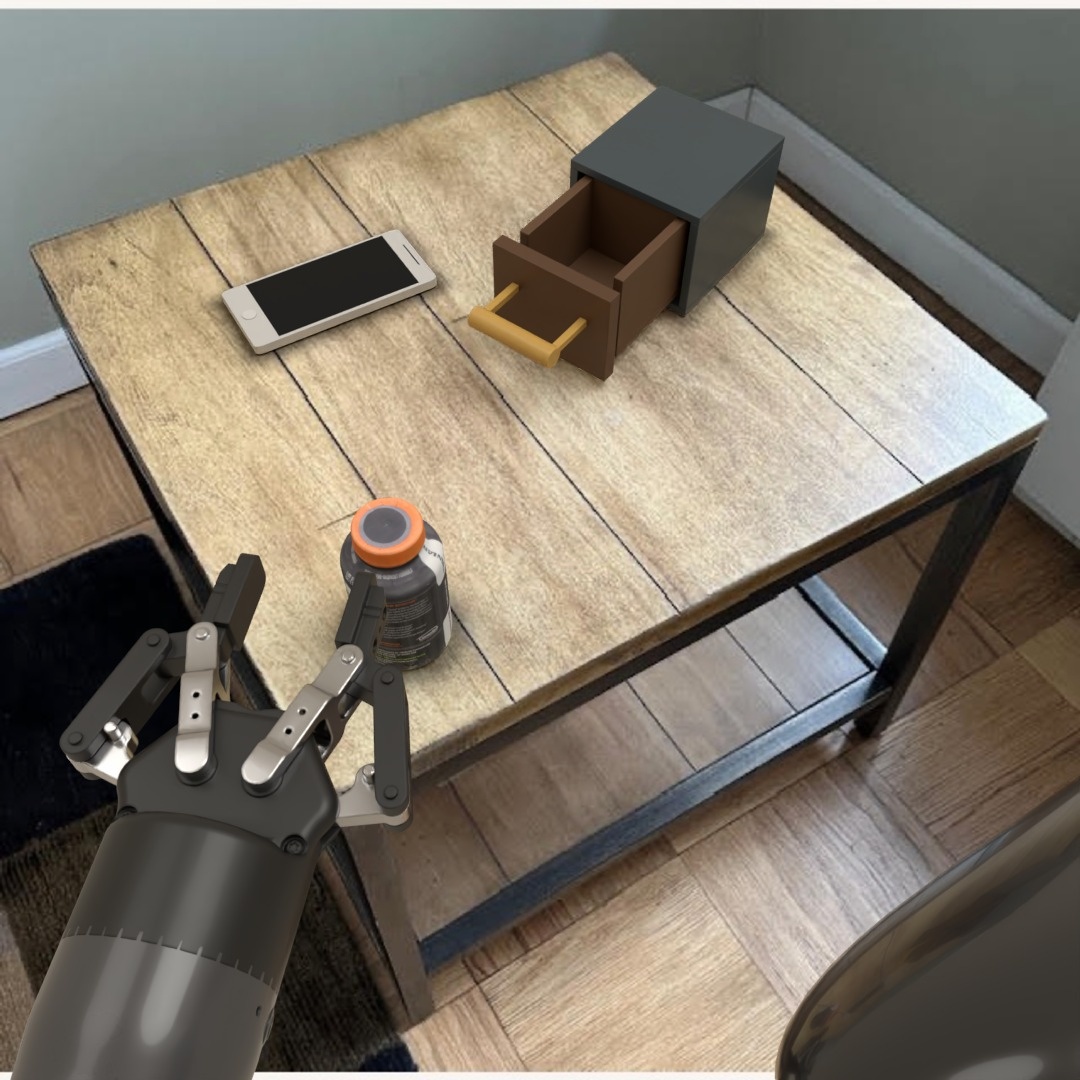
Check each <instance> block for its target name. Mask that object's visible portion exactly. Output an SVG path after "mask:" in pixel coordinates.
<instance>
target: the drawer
mask: <svg viewBox="0 0 1080 1080" xmlns="http://www.w3.org/2000/svg"><path fill="white" fill-rule="evenodd" d="M690 226H691V222H689V221H687V220H685V219H682V218H680V217H678V216H676V215H674V214H672V213H669V212H667V211H665V210H663V209H661V208H658V207H656V206H654V205H652V204H650V203H648V202H645V201H643V200H641V199H639V198H637V197H635V196H632V195H630V194H628V193H626V192H624V191H621V190H619V189H617V188H615V187H613V186H611V185H608V184H606V183H604V182H602V181H600V180H598V179H595V178H593V177H591V176H589V175H587V174H586V175H585V176H584V177H583V178H582V179H580V180H579V181H578V182H577V183H576V184H574V185H573V186H572V187H571V188H570V187H569V189H567V190H566V191H565V192H564V193H562V194H561V195H560V196H559V197H558V198H556V199H555V200H554V201H553V202H551V204H549V205H548V206H547V207H546V208H544V209H543V211H541V212H540V213H539V214H537V216H535V217H534V218H533V219H532V220H531V221H530V222H528V223H527V224H526V225H525V226H523V228H521V229H520V230H519V241H516V240H515V239H512V238H510V237H509V236H508V235H507V236H506V235H504V234H501V235H500V236H499V237H497V238H496V239H495V240H494V241H493V242H492V273H493V299H492V300H491V301H490V302H488V303H487V304H486V305H485V306H484V307H483V306H481V305H475V306H474V307H473V308H472V309H471V311H470V312H469V314H468V316H467V325H468V326H469V327H470V328H472V329H473V330H476V331H478V332H479V333H481V334H483V335H485V336H487V337H489V338H490V339H492V340H494V341H495V342H498V343H500V344H501V345H503V346H504V347H507V348H509V349H511V350H512V351H515V352H516V353H518V354H520V355H522V356H524V357H525V358H527V359H529V360H531V361H533V362H534V363H536V364H537V365H540V366H542V367H543V368H545V369H547V370H549V369H552V368H554V366H555V365H556V364H557V363H558V361H559V359H560V360H562V361H564V362H565V363H567V364H570V365H571V366H573V367H575V368H577V369H578V370H581V371H583V372H585V373H587V374H588V375H590V376H592V377H594V378H596V379H598V380H599V381H601V382H603V383H604V382H606V381H607V380H608V379H609V378H610V377H611V376H612V375H613V374H614V368H615V358H617V357H619V355H620V354H621V353H622V352H623V351H624V350H625V349H626V348H627V347H628V346H629V345H630V344H631V343H632V342H633V341H634V340H635V339H636V338H637V337H638V336H639V335H640V334H641V333H642V332H643V331H644V330H645V329H646V328H647V327H648V326H649V325H650V324H651V323H652V322H653V321H654V320H655V319H656V318H657V317H658V316H659V315H660V314H661V313H662V312H663V311H664V310H665V309H667V308H666V307H667V306H668V305H669V304H670V303H671V302H672V301H673V300H674V299H675V298H676V297H677V296H678V295H679V294H680V293H681V287H682V280H683V273H684V266H685V260H686V253H687V246H688V239H689V233H690Z"/></svg>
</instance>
